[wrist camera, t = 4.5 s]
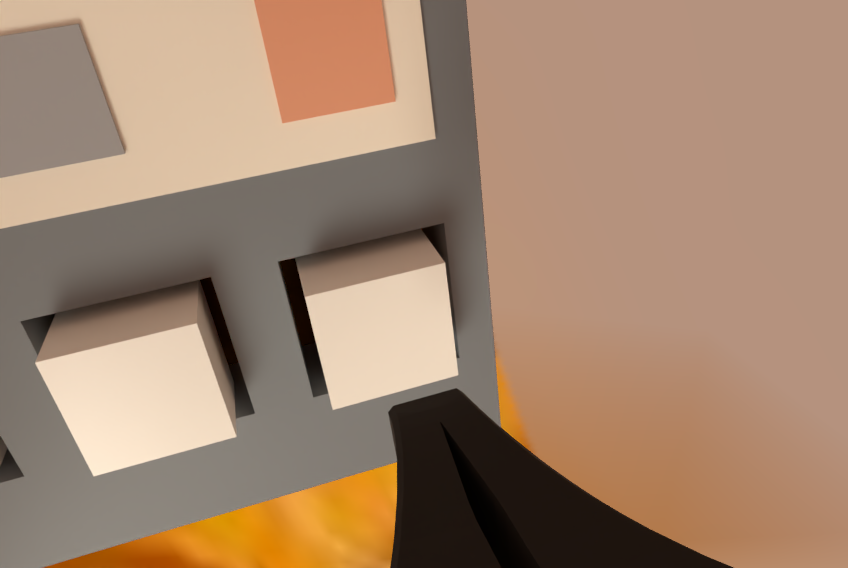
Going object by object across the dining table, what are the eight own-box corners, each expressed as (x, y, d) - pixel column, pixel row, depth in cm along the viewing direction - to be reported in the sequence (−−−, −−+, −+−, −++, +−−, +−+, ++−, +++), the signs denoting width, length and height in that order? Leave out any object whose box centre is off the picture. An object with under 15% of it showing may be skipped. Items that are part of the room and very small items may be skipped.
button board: (-100, 542, 18) (-144, 629, 16) (-513, 7, 11) (-697, 25, 9) (472, 382, 21) (503, 435, 19) (420, -116, 14) (458, -126, 12)
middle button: (106, 415, 17) (93, 476, 15) (57, 309, 15) (34, 362, 13) (234, 382, 17) (236, 436, 15) (198, 276, 16) (197, 323, 14)
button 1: (319, 359, 18) (332, 410, 16) (294, 255, 16) (305, 297, 14) (433, 330, 18) (458, 375, 16) (419, 226, 17) (445, 262, 15)
